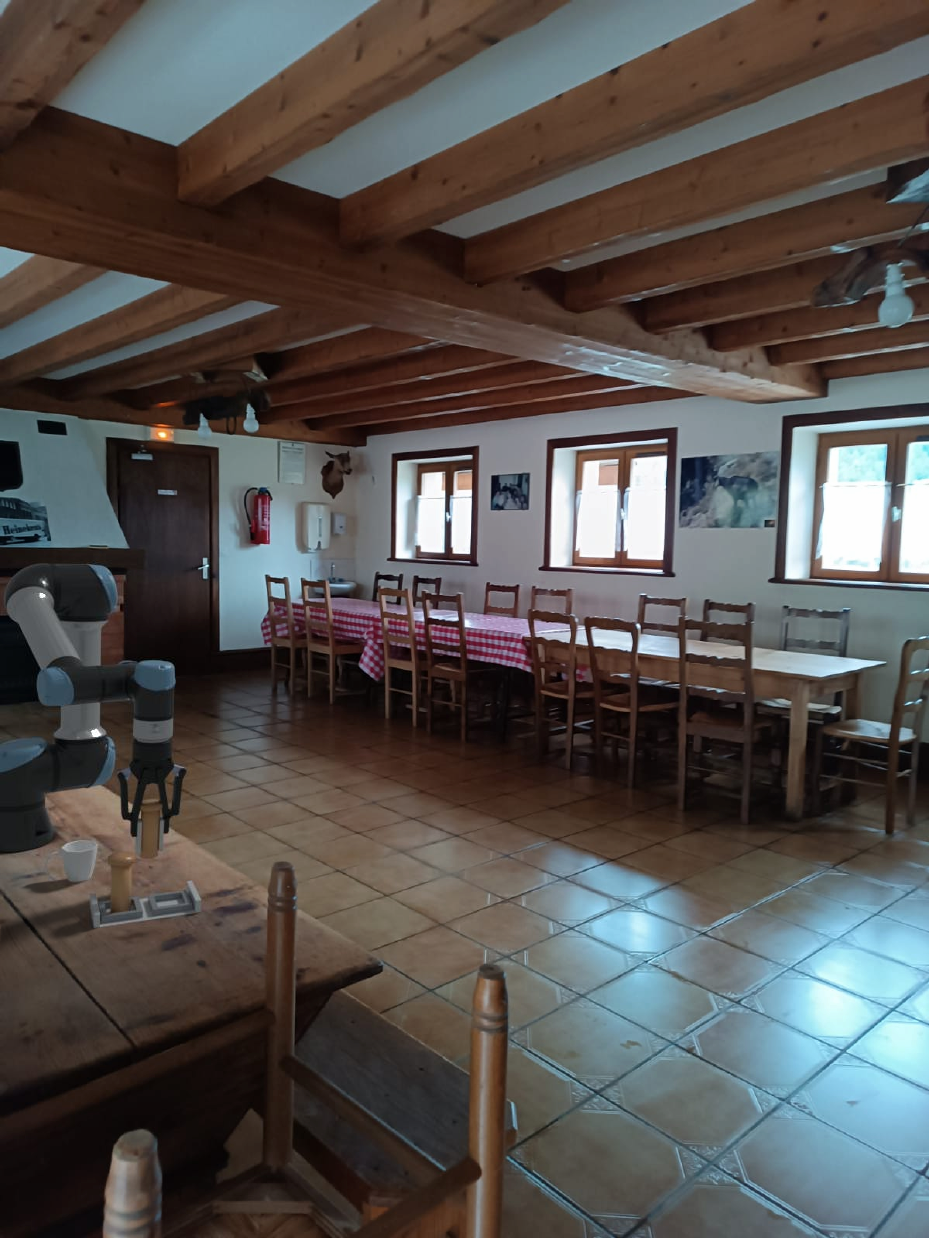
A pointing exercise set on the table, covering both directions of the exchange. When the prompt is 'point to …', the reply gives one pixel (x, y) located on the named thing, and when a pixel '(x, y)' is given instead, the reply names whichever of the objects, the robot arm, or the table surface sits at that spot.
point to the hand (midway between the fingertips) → (149, 849)
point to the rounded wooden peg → (120, 881)
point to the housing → (147, 907)
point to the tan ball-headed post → (150, 828)
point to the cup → (77, 860)
